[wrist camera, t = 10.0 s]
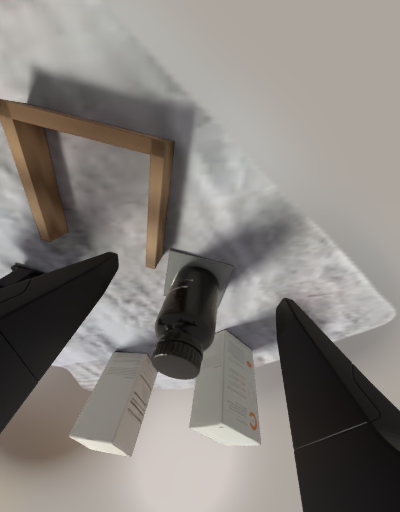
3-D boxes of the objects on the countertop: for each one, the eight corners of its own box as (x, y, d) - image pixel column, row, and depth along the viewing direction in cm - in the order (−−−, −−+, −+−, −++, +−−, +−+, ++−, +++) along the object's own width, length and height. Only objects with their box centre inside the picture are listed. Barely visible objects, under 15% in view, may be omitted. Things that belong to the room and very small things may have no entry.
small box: (200, 339, 35) (187, 428, 24) (225, 328, 32) (222, 424, 21) (228, 359, 38) (226, 447, 27) (253, 350, 35) (263, 446, 24)
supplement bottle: (183, 256, 24) (150, 337, 15) (228, 276, 25) (225, 366, 15) (168, 288, 28) (134, 370, 18) (207, 305, 29) (195, 391, 19)
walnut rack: (162, 256, 25) (154, 269, 23) (60, 229, 25) (41, 239, 23) (174, 141, 17) (165, 142, 15) (26, 103, 18) (-8, 97, 15)
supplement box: (127, 369, 48) (91, 450, 35) (113, 351, 43) (65, 436, 31) (158, 372, 46) (131, 459, 34) (147, 352, 41) (111, 445, 29)
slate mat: (216, 308, 30) (216, 309, 29) (164, 294, 30) (163, 295, 29) (233, 266, 24) (233, 267, 24) (170, 249, 24) (169, 250, 24)
